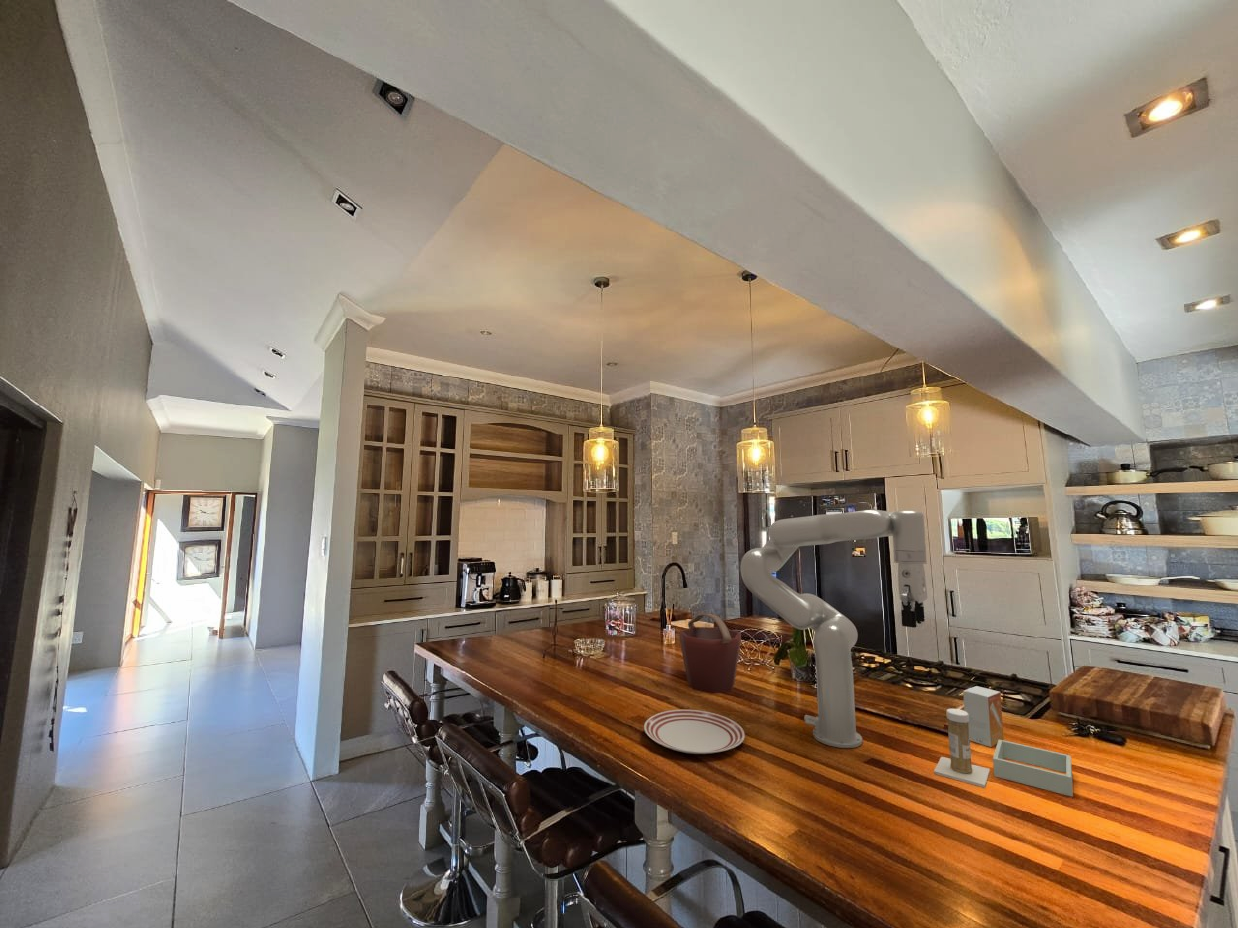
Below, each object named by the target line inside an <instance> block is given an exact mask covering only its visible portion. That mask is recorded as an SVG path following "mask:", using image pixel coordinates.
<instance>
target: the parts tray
mask: <svg viewBox="0 0 1238 928" xmlns="http://www.w3.org/2000/svg"><path fill="white" fill-rule="evenodd" d="M1071 756H1072V755H1069V754H1065V753H1061V752H1056V751H1052V750H1047V749H1045V748H1044V749H1043V748H1039V747H1034V746H1030V745H1026V744H1025V745H1024V744H1020V743H1017V742H1012V741H1008V740H998V743H997V744H996V747H995V751H994V754H993V756H992V761H993V763H992V764H993V777H996V778H1000V779H1004V780H1008V781H1011V782H1016V783H1019V784H1023V785H1027V786H1029V787H1034V788H1039V789H1042V790H1046V791H1049V792H1053V793H1057V794H1060V795H1065V796H1068V797H1072V798H1073V797H1074V794H1073V792H1074V791H1073V767H1072V766H1073V765H1072V758H1071ZM1006 759H1007V760H1006ZM1010 760H1011V761H1010ZM1023 763H1024V764H1023ZM1027 764H1028V765H1027ZM1031 765H1033V766H1031ZM1036 766H1037V767H1036ZM1038 767H1039V768H1038ZM1042 768H1043V769H1042ZM1046 769H1047V770H1046ZM1048 769H1049V770H1048ZM1052 770H1053V771H1052ZM1055 771H1056V772H1055Z"/></svg>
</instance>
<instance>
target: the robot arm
mask: <svg viewBox="0 0 1238 928" xmlns="http://www.w3.org/2000/svg"><path fill="white" fill-rule="evenodd" d="M924 517H925V516H924V514H923V512H921V511H919V510H896V511H890V510H880V509H865V510H857V511H850V512H840V513H832V514H827V513H825V514H816V515H815V514H814V515H808V516H800V517H799V516H798V517H793V518H791V517H790V518H784V519H783V518H782V519H778V520H776V521H774V522H772V524H770V526H769V528H768V537H769V539H768V541H767V542H766V543H765V544H764V546H762V547H755V548H752V549H750V550H748V551H747V552H746V553H744V555H743V556H742V558H741V561H740V575H741V578H742V581H743V583H744V585H745V587H746V588H747V589H748V590H749V592H751V593H752V595H754V597H756V598H758V599H759V600H760V601H762V603H763V604H765V605H767V607H769V609H771V610H772V611H773V612H775V613H776V614H777V615H778V616H779V617H781V618H782V619H783V620H785V622H787V623H788V624H789V625H790V626H792V627H793V628H795V629H797V630H801V631H803V630H804V631H805V630H808V629H810V630H812V631H813V632H814V633H813V638H812V639H813V640H812V643H813V652H814V659H815V668H816V671H815V673H816V689H817V692H816V694H817V714H818V715H817V716H816V717H815V716H813V715H808V714H805V715H804V723H805V725H806V726H811V727H813V730H812V736H813V738H814V739H815V740H816V741H818V743H819V742H820V743H822V744H824V745H826V746H830V747H833V748H841V749H854V748H858V747H861V746H862V744H863V736H861V734H860V733H858V732H857V728H856V727H857V725H856V711H855V710H856V707H855V705H856V703H855V687H854V685H855V682H854V669H853V668H854V667H853V661H852V660H853V659H852V651H851V650H852V648H853V647H854V646H855V645H856V644H857V641H858V637H859V636H858V635H859V634H858V630H857V628H856V625H855V624H854V623H853V622H852V621H851V620H850V619H849V618H848V617H847V616H846V615H844V614H842V613H841V612H839V610H837V609H836V608H835V607H833V606H832V605H830V604H829V603H828V602H826V601H824V599H822V598H820V597H819V596H817V595H815V594H813V593H798V592H797V591H796V590H794V589H793V588H791V587H790V586H788V585H787V583H785V582H783V581H782V580H780V579H779V578H777V577H775V576H774V575H772V574H774V573H776V572H778V571H779V570H780V569H781V568H782V567H784V565H785V564H786V563H787V561H788V560H789V559H790V558H791V557H792V555H793V554H794V553H795V552H796V550H797V549H799V547H804V546H805V547H806V546H817V545H818V546H819V545H827V544H829V545H830V544H832V543H836V542H845V541H846V542H847V541H855V540H856V541H857V540H868V539H869V540H870V539H877V538H878V539H879V538H884V537H885V538H886V537H892V548H893V563H895V564H897V577H898V578H897V583H898V597H899V600H900V604H901V605H900V606H901V607H900V608H901V609H900V610H901V611H900V613H901V615H900V616H901V625H902V627H907V628H914V629H915V628H917V622H921V623H922V622H925V607H924V606H925V605H924V601H926V600H927V599H928V591H927V590H928V589H927V581H926V573H925V572H926V571H925V566H924V565H925V564H927V551H926V550H927V548H926V547H927V546H926V532H925V531H926V530H925V529H926V528H925V518H924Z"/></svg>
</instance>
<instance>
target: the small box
mask: <svg viewBox="0 0 1238 928" xmlns="http://www.w3.org/2000/svg"><path fill="white" fill-rule="evenodd" d="M962 694H963V708H964V710H963V711H966V712H967V713H968V714H969V723H968V727H969V737H970V742H974V743H977V744H979V745H983V746H987V747H990V748H992V747H994V746H997V743H998V740H1004V725H1003V723H1004V722H1003V710H1002V692H1001V691H999V690H994V689H990V688H986V687H982V686H978V685H976V686H973V687H969V688H967V689H965V690H963V693H962ZM1004 741H1005V740H1004Z"/></svg>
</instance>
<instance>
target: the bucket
mask: <svg viewBox="0 0 1238 928" xmlns="http://www.w3.org/2000/svg"><path fill="white" fill-rule="evenodd" d="M704 617H708V618H709V619H712V620H713V621H714V623H715V624H716V625H717V627H714V626H713V627H712V626H711V627H710V626H709V627H708V626H707V627H706V626H696V625H695V623H697V622H699V621H700V620H702V619H703V618H704ZM687 626H688V628H686V629H682V630H679V632H678V633H679V635H678V637H679V643H680V648H681V653H682V659H683V665H684V669H685V675H686V680H687V683H688V685H689V686H690V687H691V689H692V690H694V691H699V692H703V693H709V694H717V693H718V694H719V693H727V692H728V693H729V692H732V691H733V689H734V687H735V682H736V681H735V680H736V676H737V669H738V662H739V657H740V651H741V650H740V649H741V644H742V632H741V631H736V630H733V629H729V628H728V626H727V625H726V623H725V622H724V621H723V620H722V619H721V618H720V616H718V615H716V614H713V613H699V614H696V615H695V616H694V617H693V618H691V620H689V621H688V623H687Z"/></svg>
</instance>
